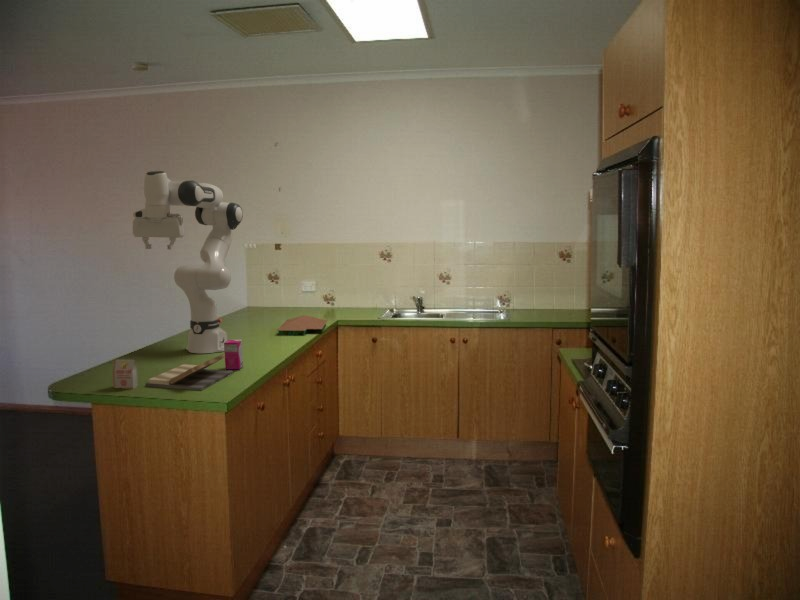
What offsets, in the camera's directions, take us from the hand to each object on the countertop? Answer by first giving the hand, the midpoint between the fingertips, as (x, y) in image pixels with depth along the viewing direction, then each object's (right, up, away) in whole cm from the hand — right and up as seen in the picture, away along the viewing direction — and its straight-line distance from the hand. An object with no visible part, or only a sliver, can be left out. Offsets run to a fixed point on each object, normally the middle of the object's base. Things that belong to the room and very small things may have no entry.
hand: (159, 249), depth 220 cm
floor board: (+16, -50, -10) cm, 53 cm away
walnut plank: (+20, -46, -11) cm, 51 cm away
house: (+41, -37, +88) cm, 104 cm away
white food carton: (-3, -51, -20) cm, 55 cm away
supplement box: (+28, -48, +6) cm, 55 cm away
